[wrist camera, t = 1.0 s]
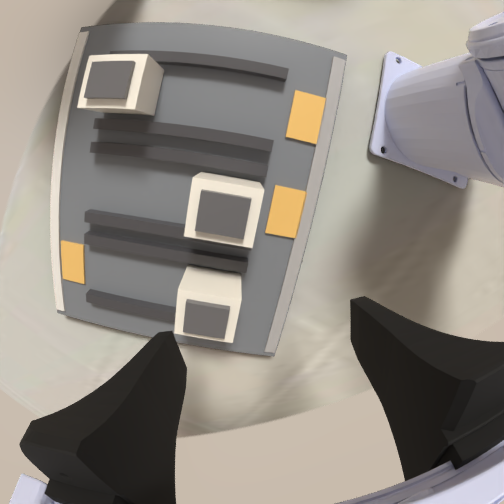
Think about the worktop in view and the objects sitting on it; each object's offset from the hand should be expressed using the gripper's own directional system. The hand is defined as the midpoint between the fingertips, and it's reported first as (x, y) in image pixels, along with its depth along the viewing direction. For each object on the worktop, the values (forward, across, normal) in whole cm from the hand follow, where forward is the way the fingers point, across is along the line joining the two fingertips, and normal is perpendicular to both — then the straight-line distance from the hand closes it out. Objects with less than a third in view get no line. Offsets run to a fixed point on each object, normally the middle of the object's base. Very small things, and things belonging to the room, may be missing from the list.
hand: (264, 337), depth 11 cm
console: (+10, +4, -5) cm, 12 cm away
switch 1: (+8, +5, -12) cm, 16 cm away
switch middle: (+8, +1, -4) cm, 9 cm away
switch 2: (+8, +3, +1) cm, 9 cm away
